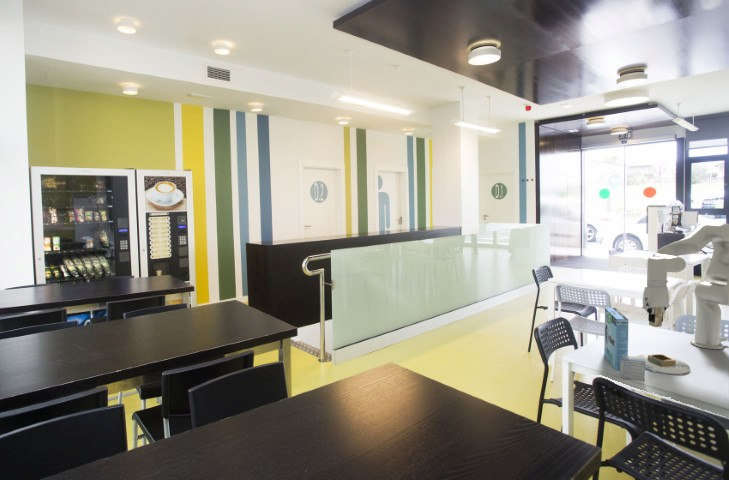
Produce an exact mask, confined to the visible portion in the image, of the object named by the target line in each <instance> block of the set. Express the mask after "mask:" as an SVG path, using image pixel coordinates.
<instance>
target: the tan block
mask: <svg viewBox="0 0 729 480" xmlns="http://www.w3.org/2000/svg"><path fill="white" fill-rule="evenodd" d="M654 314H655V322H654V323H653V322H650V321H648V325H649V326H651V327H653V328H659V327H662V326H663V322H662V307H657V308H655V310H654Z"/></svg>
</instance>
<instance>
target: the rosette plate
mask: <svg viewBox="0 0 729 480" xmlns="http://www.w3.org/2000/svg"><path fill="white" fill-rule="evenodd" d="M635 357H642V358H643V359H644V360H645V370H647V369H648V370H647V371H650V372H653V371H654V373H657V372H658V374H662V373H663V375H670V376H681V375H686V374H689V373H690V372H691V367H690V365H689V364H687V363H686V362H684V361H682V360H679V359H676V358H673V357H671V356H668V355H665V354H663V353H660V354H657V353H656V354H639V355H636V356H635Z"/></svg>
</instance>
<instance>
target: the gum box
mask: <svg viewBox="0 0 729 480" xmlns="http://www.w3.org/2000/svg"><path fill="white" fill-rule="evenodd" d="M603 343H604V352H603V354H604V356H605V358H606V359H607V360H608V362H609V363H610V364H611V366H612V367H613V370H615V371H620V363H621V356H629V355H628V354H629V318H627V317H626V316H625V315H624V314H623V313H621V311H619V310H618V309H617V308H616V307H604V342H603Z"/></svg>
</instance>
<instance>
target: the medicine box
mask: <svg viewBox="0 0 729 480" xmlns="http://www.w3.org/2000/svg"><path fill="white" fill-rule="evenodd" d="M619 373H620V376H621V378H622V379H623V380H629V381H641V382H644V381H645V380H646V379H645V377H646V375H645V374H646V369H645V360H644V359H643V358H642V357H636V356H631V355H628V356H621V363H620V370H619Z"/></svg>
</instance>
